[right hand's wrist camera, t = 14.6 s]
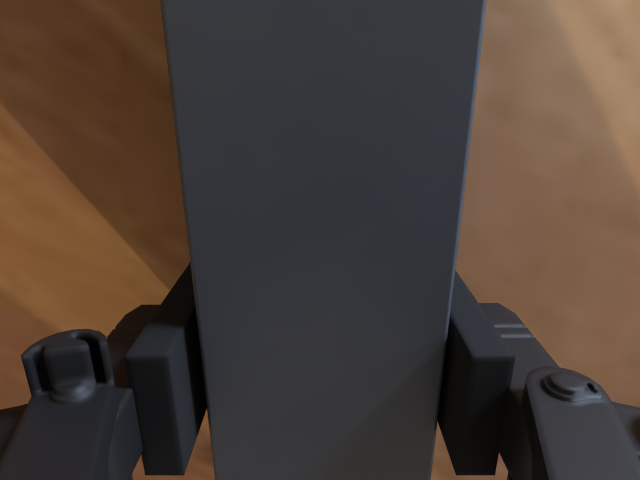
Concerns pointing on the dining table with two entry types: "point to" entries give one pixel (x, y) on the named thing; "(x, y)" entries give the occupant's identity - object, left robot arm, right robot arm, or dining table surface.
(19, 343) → the dining table surface
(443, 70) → the beam
